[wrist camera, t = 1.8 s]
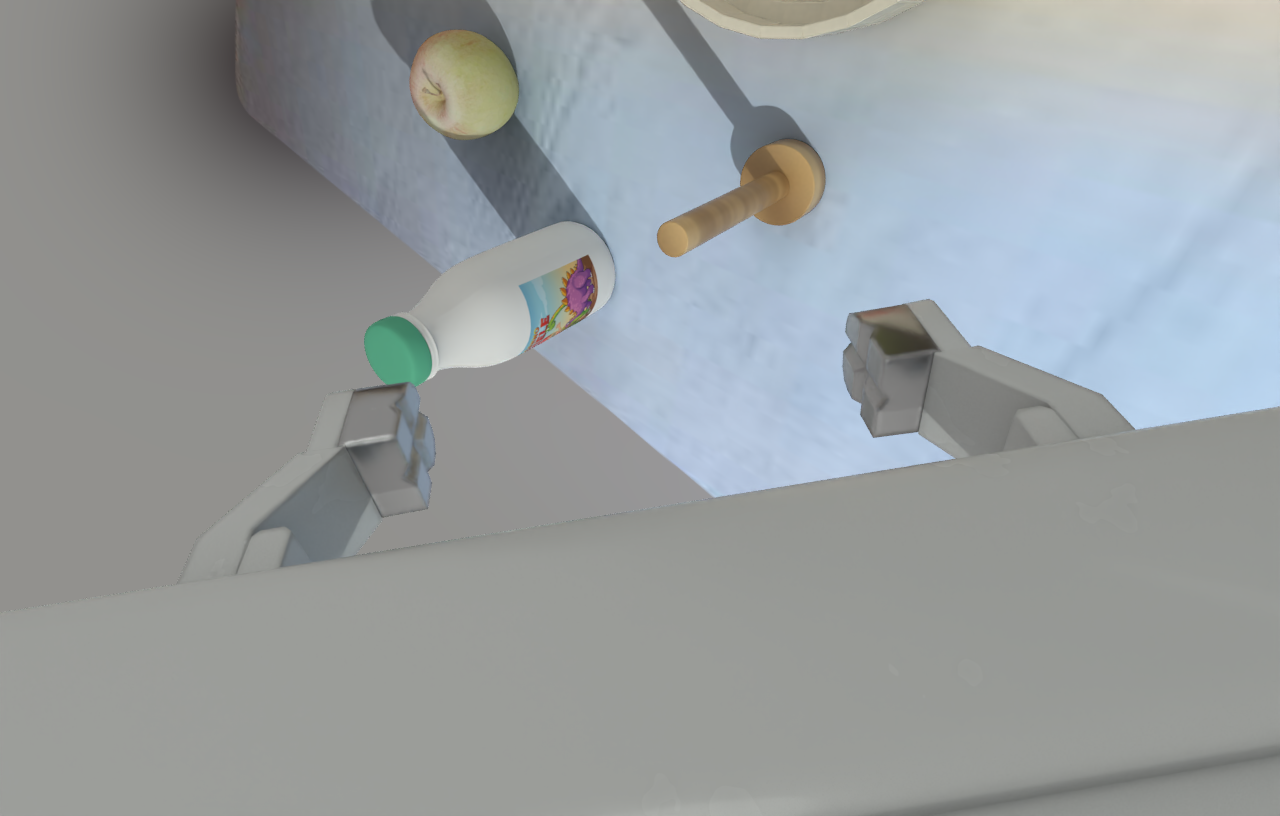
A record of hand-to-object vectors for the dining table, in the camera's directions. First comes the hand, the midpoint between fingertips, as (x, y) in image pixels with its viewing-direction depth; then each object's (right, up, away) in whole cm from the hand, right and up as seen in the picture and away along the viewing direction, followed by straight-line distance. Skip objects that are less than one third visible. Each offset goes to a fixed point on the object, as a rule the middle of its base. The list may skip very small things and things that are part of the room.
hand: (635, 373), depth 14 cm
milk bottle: (-5, +11, +46) cm, 47 cm away
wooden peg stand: (+10, +14, +33) cm, 37 cm away
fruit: (-11, +25, +42) cm, 50 cm away
